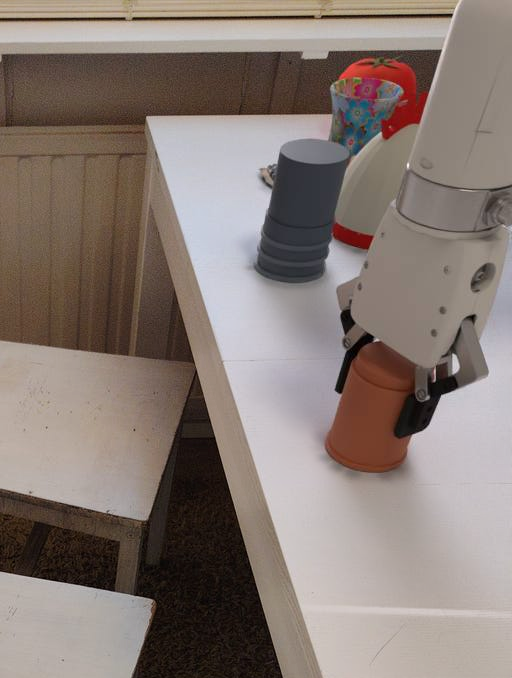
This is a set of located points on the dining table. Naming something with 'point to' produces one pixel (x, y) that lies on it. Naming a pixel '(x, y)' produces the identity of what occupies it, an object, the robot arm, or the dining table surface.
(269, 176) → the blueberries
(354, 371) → the terracotta cup
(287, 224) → the cup stack
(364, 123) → the mug
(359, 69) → the tomato
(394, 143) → the kitchen timer
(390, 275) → the robot arm
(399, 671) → the dining table surface
